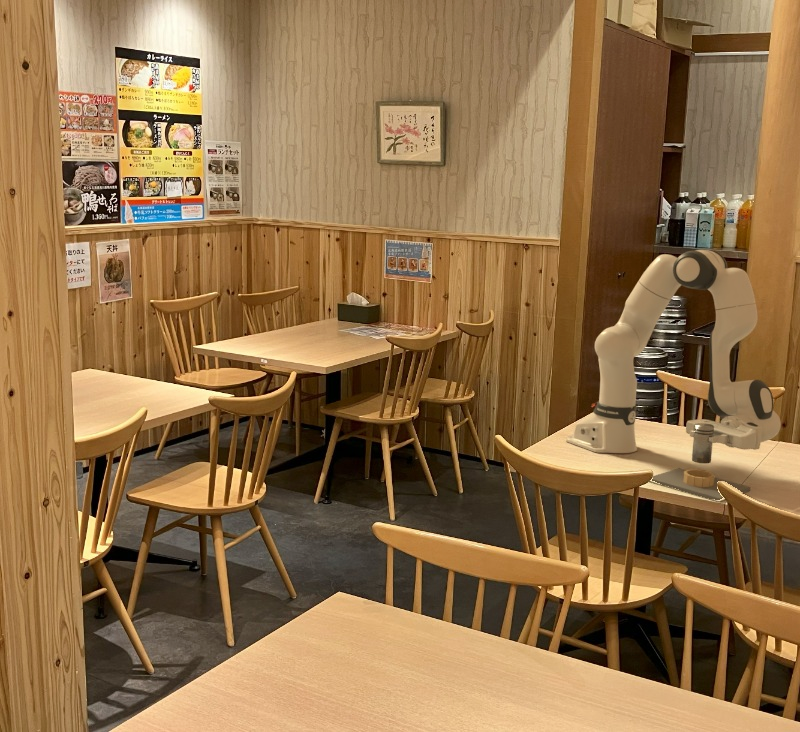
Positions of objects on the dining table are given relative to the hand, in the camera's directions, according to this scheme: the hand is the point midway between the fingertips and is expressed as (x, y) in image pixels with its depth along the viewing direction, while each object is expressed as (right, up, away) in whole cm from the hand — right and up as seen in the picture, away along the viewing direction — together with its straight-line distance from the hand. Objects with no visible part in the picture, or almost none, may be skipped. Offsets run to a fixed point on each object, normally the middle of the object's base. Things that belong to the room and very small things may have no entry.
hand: (701, 436), depth 263 cm
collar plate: (0, -14, +3) cm, 14 cm away
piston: (+1, -7, +2) cm, 7 cm away
